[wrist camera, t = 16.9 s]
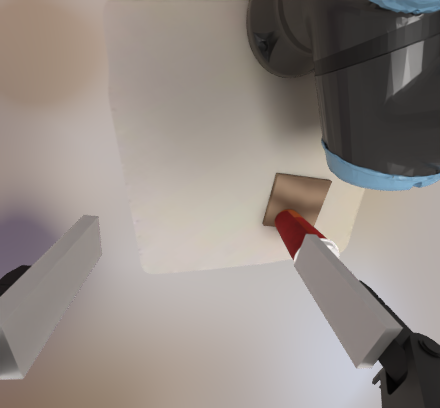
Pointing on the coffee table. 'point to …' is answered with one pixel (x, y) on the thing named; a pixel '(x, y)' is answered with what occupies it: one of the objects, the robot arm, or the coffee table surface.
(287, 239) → the paper cup
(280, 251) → the coffee table surface
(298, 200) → the walnut pad
